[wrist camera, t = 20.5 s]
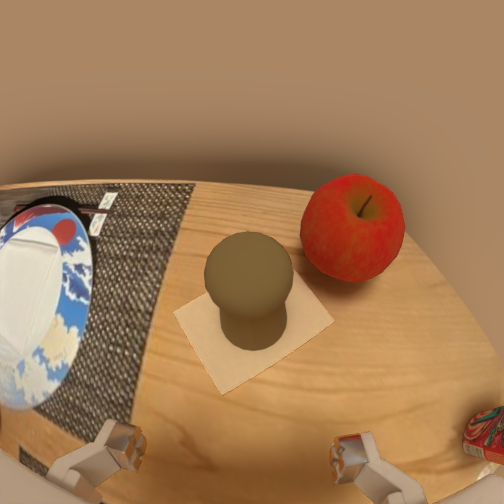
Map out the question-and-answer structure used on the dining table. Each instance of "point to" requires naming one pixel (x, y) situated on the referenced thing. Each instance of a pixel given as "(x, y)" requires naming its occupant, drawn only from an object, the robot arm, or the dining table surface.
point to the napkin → (244, 361)
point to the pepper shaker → (250, 288)
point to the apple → (352, 228)
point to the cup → (486, 436)
